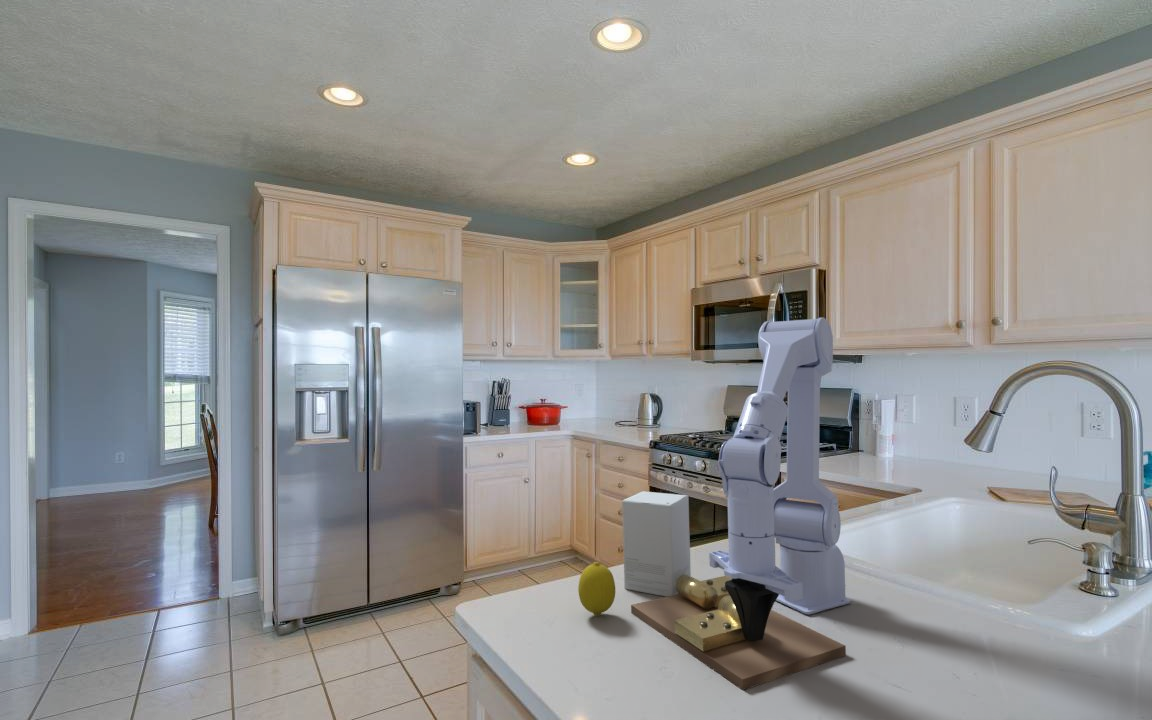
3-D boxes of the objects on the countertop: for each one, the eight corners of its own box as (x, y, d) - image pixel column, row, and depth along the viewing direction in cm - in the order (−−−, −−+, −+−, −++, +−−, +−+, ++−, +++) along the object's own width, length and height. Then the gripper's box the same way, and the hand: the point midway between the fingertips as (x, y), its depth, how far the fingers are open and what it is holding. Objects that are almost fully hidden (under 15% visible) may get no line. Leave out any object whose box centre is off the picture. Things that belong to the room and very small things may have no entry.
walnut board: (719, 592, 94) (719, 584, 94) (845, 655, 73) (845, 645, 73) (631, 612, 87) (631, 604, 87) (742, 690, 65) (742, 679, 65)
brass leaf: (735, 616, 82) (735, 593, 82) (767, 633, 76) (766, 608, 76) (674, 632, 77) (674, 608, 77) (703, 651, 72) (702, 625, 72)
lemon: (613, 625, 83) (612, 569, 83) (575, 622, 84) (574, 567, 84) (618, 609, 88) (617, 557, 88) (582, 607, 89) (581, 555, 89)
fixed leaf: (723, 582, 95) (723, 562, 95) (755, 597, 88) (755, 576, 88) (670, 593, 90) (670, 573, 90) (700, 611, 84) (700, 588, 84)
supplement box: (692, 581, 100) (690, 494, 100) (673, 599, 92) (671, 505, 92) (644, 572, 104) (642, 489, 105) (622, 589, 96) (620, 499, 97)
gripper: (690, 523, 79) (693, 623, 78) (770, 551, 66) (773, 672, 65) (730, 516, 82) (733, 613, 81) (814, 542, 69) (817, 657, 68)
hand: (753, 638), depth 74 cm, fingers closed
